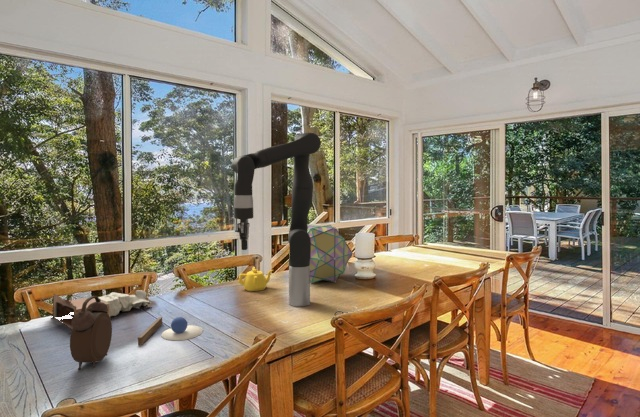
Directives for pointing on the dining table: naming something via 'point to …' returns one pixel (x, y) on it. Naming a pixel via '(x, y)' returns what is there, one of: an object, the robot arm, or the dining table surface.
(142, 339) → the strip
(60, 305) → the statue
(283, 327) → the dining table surface
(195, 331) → the disc
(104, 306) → the alarm clock
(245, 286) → the teapot
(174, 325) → the ball
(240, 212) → the robot arm
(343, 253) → the sculpture
